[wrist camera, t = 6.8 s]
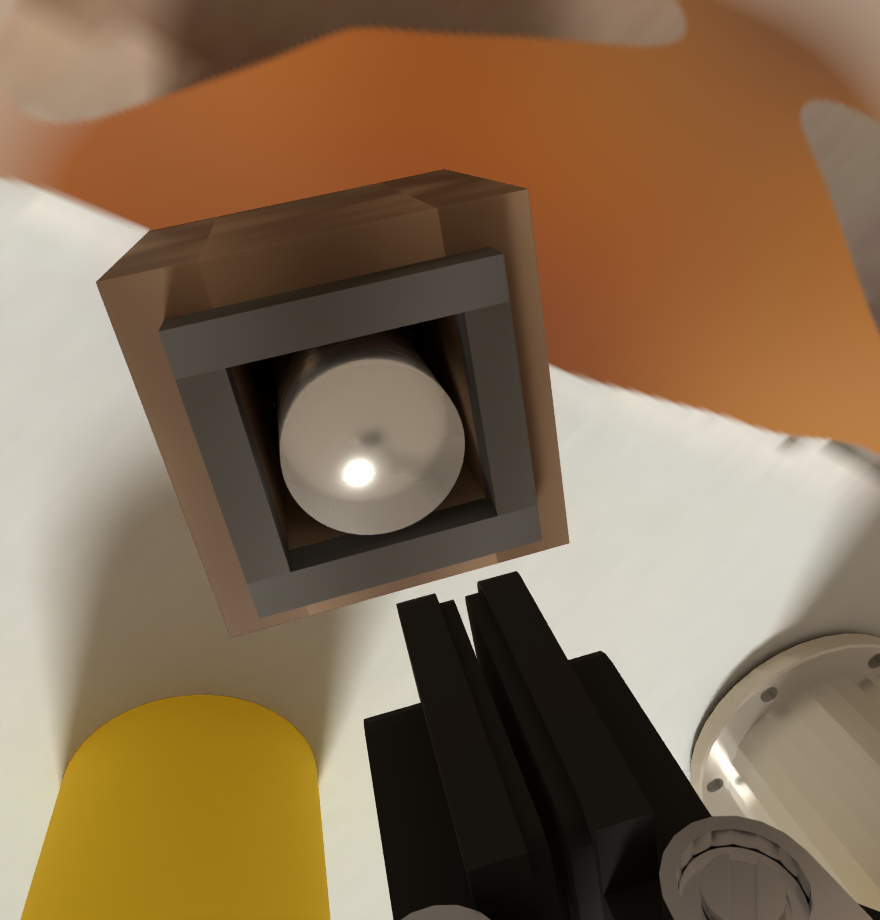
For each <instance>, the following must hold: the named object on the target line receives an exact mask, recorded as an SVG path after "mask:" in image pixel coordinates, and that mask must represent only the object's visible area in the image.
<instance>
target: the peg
mask: <svg viewBox="0 0 880 920" xmlns="http://www.w3.org/2000/svg"><path fill="white" fill-rule="evenodd" d="M274 368H275V384H276V399H277V415H278V431H279V446H280V461H281V468H282V473H283V477H284V480H285V482H286V485H287V487H288V489H289V491H290V493H291V495H292V496H293V498H294V499H295V500H296V502H297V503H298V504H299V506H300V507H301V508H302V509H303V510H304V511H305V512H306V513H307V514H309V515H310V516H311V517H313V518H314V519H315V520H317V521H319V522H320V523H322V524H324V525H326V526H328V527H331V528H333V529H336V530H339V531H342V532H346V533H352V534H359V535H374V534H383V533H388V532H393V531H396V530H399V529H402V528H405V527H407V526H409V525H412V524H414V523H416V522H417V521H419V520H421V519H422V518H424V517H425V516H427V515H428V514H429V513H431V512H432V511H433V510H434V509H435V508H436V507H437V506H438V505H439V504H440V503H441V502H442V501H443V500H444V499H445V497H446V496H447V495H448V494H449V492H450V491H451V489H452V487H453V486H454V484H455V482H456V480H457V478H458V476H459V473H460V470H461V467H462V464H463V458H464V451H465V439H464V430H463V426H462V422H461V419H460V416H459V414H458V412H457V409H456V408H455V406H454V404H453V403H452V401H451V399H450V398H449V397H448V395H447V394H446V392H445V391H444V389H443V388H442V387H441V385H440V384H439V382H438V381H437V379H436V378H435V377H434V375H433V374H432V372H431V371H430V369H429V368H428V367H427V365H426V364H425V362H424V361H423V359H422V358H421V357H420V355H419V354H418V352H417V351H416V349H415V348H414V347H413V345H412V344H411V342H410V341H409V339H408V338H407V337H406V335H405V334H404V332H403V331H402V329H401V328H400V327H399V328H395V329H390V330H386V331H382V332H378V333H373V334H369V335H365V336H361V337H356V338H352V339H348V340H343V341H339V342H335V343H331V344H326V345H322V346H318V347H314V348H309V349H305V350H301V351H297V352H292V353H288V354H284V355H280V356H275V357H274Z"/></svg>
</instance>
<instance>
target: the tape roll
mask: <svg viewBox="0 0 880 920" xmlns="http://www.w3.org/2000/svg"><path fill="white" fill-rule="evenodd" d="M21 920H330V910H329V899H328V888H327V877H326V866H325V854H324V843H323V832H322V821H321V810H320V799H319V788H318V776H317V767H316V762H315V758H314V755H313V753H312V750H311V748H310V746H309V744H308V743H307V741H306V740H305V738H304V737H303V736H302V734H301V733H300V732H299V731H298V730H297V729H296V728H295V727H294V726H293V725H292V724H291V723H290V722H288V721H287V720H286V719H285V718H283V717H282V716H280V715H279V714H277V713H275V712H273V711H272V710H270V709H267V708H265V707H263V706H261V705H258V704H255V703H252V702H249V701H246V700H242V699H238V698H233V697H227V696H218V695H186V696H178V697H171V698H166V699H161V700H157V701H154V702H150V703H147V704H144V705H141V706H138V707H136V708H133V709H131V710H129V711H127V712H124V713H123V714H121V715H119V716H117V717H115V718H113V719H112V720H110V721H109V722H107V723H106V724H104V725H103V726H101V727H100V728H99V729H97V730H96V731H95V732H94V733H93V734H92V735H90V736H89V737H88V738H87V739H86V740H85V741H84V742H83V744H82V745H81V746H80V747H79V748H78V750H77V751H76V752H75V754H74V755H73V757H72V759H71V760H70V762H69V764H68V766H67V768H66V771H65V774H64V777H63V780H62V783H61V787H60V790H59V793H58V797H57V800H56V803H55V807H54V810H53V813H52V816H51V820H50V823H49V826H48V830H47V833H46V836H45V840H44V843H43V846H42V850H41V853H40V856H39V860H38V863H37V866H36V870H35V873H34V876H33V880H32V883H31V886H30V890H29V893H28V896H27V900H26V903H25V906H24V910H23V913H22V916H21Z"/></svg>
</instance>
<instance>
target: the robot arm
mask: <svg viewBox="0 0 880 920" xmlns="http://www.w3.org/2000/svg"><path fill="white" fill-rule="evenodd" d="M477 586H478V593H476V594H472V595H468V596H466V597H465V600H466V606H467V611H468V616H469V621H470V626H471V631H472V636H473V641H474V646H475V651H476V655H475V653H474V650H473V648H472V645H471V642H470V640H469V637H468V635H467V632H466V630H465V627H464V625H463V622H462V619H461V617H460V614H459V612H458V609H457V607H456V604H455V602H454V600H450V601H447V602H443V603H439V602H438V599H437V596H436V594H435V593H434V594H431V595H427V596H423V597H420V598H416V599H412V600H409V601H405V602H401V603H398V604H396V605H397V609H398V613H399V618H400V622H401V626H402V630H403V634H404V638H405V642H406V646H407V650H408V654H409V658H410V662H411V666H412V670H413V674H414V678H415V682H416V686H417V690H418V694H419V698H420V702H421V703H418V704H415V705H411V706H408V707H404V708H401V709H398V710H394V711H391V712H387V713H384V714H380V715H377V716H373V717H370V718H366V719H364V729H365V737H366V743H367V750H368V756H369V763H370V769H371V776H372V782H373V789H374V795H375V802H376V808H377V815H378V822H379V828H380V835H381V841H382V848H383V854H384V861H385V867H386V874H387V880H388V887H389V893H390V900H391V907H392V913H393V920H880V638H879V637H875V636H871V635H868V634H849V633H845V634H838V635H831V636H824V637H820V638H817V639H814V640H810V641H807V642H804V643H801V644H798V645H796V646H794V647H792V648H790V649H787V650H785V651H783V652H781V653H779V654H777V655H775V656H774V657H772V658H770V659H769V660H767V661H766V662H764V663H763V664H761V665H759V666H758V667H756V668H755V669H754V670H752V671H751V672H750V673H749V674H748V675H746V676H745V677H744V678H743V679H742V680H740V681H739V682H738V683H737V684H736V685H735V686H734V687H733V688H732V689H731V690H730V691H729V692H728V693H727V694H726V696H725V697H724V698H723V699H722V700H721V701H720V702H719V703H718V705H717V706H716V708H715V709H714V711H713V712H712V713H711V715H710V716H709V718H708V719H707V721H706V722H705V724H704V727H703V729H702V731H701V733H700V735H699V737H698V739H697V742H696V744H695V748H694V752H693V756H692V760H691V775H690V780H691V783H690V782H689V780H688V779H687V777H686V776H685V774H684V773H683V771H682V770H681V768H680V766H679V765H678V763H677V762H676V760H675V759H674V757H673V756H672V754H671V753H670V751H669V749H668V748H667V746H666V745H665V743H664V742H663V740H662V739H661V737H660V736H659V734H658V732H657V731H656V729H655V728H654V726H653V725H652V723H651V722H650V720H649V719H648V717H647V715H646V714H645V712H644V711H643V709H642V708H641V706H640V705H639V703H638V702H637V700H636V698H635V697H634V695H633V694H632V692H631V691H630V689H629V688H628V686H627V685H626V683H625V681H624V680H623V678H622V677H621V675H620V674H619V672H618V671H617V669H616V668H615V666H614V664H613V663H612V661H611V660H610V659H609V658H608V656H607V655H606V654H605V653H603V652H602V651H598V652H595V653H591V654H588V655H584V656H581V657H578V658H574V659H571V660H568V659H567V658H566V656H565V654H564V652H563V650H562V649H561V647H560V645H559V643H558V642H557V640H556V638H555V636H554V635H553V633H552V631H551V629H550V627H549V626H548V624H547V622H546V620H545V619H544V617H543V615H542V613H541V612H540V610H539V608H538V606H537V604H536V603H535V601H534V599H533V597H532V596H531V594H530V592H529V590H528V589H527V587H526V585H525V583H524V581H523V580H522V578H521V576H520V575H519V573H518V572H516V571H515V572H511V573H508V574H504V575H500V576H497V577H493V578H489V579H486V580H482V581H478V583H477ZM476 656H477V658H476Z"/></svg>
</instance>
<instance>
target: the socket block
mask: <svg viewBox="0 0 880 920" xmlns="http://www.w3.org/2000/svg"><path fill="white" fill-rule="evenodd" d="M96 284H97V287H98V289H99V292H100V295H101V297H102V300H103V302H104V305H105V308H106V310H107V313H108V316H109V318H110V321H111V323H112V326H113V329H114V331H115V334H116V337H117V339H118V342H119V345H120V347H121V350H122V352H123V355H124V358H125V360H126V363H127V366H128V368H129V371H130V374H131V376H132V379H133V381H134V384H135V387H136V389H137V392H138V395H139V397H140V400H141V402H142V405H143V408H144V410H145V413H146V416H147V418H148V421H149V424H150V426H151V429H152V431H153V434H154V437H155V439H156V442H157V445H158V447H159V450H160V452H161V455H162V458H163V460H164V463H165V466H166V468H167V471H168V474H169V476H170V479H171V481H172V484H173V487H174V489H175V492H176V495H177V497H178V500H179V503H180V505H181V508H182V510H183V513H184V516H185V518H186V521H187V524H188V526H189V529H190V531H191V534H192V537H193V539H194V542H195V545H196V547H197V550H198V553H199V555H200V558H201V560H202V563H203V566H204V568H205V571H206V574H207V576H208V579H209V581H210V584H211V587H212V589H213V592H214V595H215V597H216V600H217V603H218V605H219V608H220V610H221V613H222V616H223V618H224V621H225V624H226V626H227V629H228V632H229V634H230V637H231V638H232V637H235V636H239V635H242V634H246V633H250V632H253V631H257V630H260V629H264V628H267V627H271V626H275V625H278V624H282V623H285V622H289V621H293V620H296V619H300V618H303V617H307V616H310V615H314V614H318V613H321V612H325V611H328V610H332V609H336V608H339V607H343V606H346V605H350V604H353V603H357V602H361V601H364V600H368V599H371V598H375V597H378V596H382V595H386V594H389V593H393V592H396V591H400V590H404V589H407V588H411V587H414V586H418V585H421V584H425V583H429V582H432V581H436V580H439V579H443V578H447V577H450V576H454V575H457V574H461V573H464V572H468V571H472V570H475V569H479V568H482V567H486V566H490V565H493V564H497V563H500V562H504V561H507V560H511V559H515V558H518V557H522V556H525V555H529V554H533V553H536V552H540V551H543V550H547V549H550V548H554V547H558V546H561V545H565V544H568V543H569V536H568V527H567V519H566V510H565V501H564V493H563V484H562V476H561V467H560V458H559V450H558V441H557V433H556V424H555V415H554V407H553V398H552V390H551V381H550V372H549V364H548V356H547V347H546V339H545V330H544V321H543V313H542V304H541V295H540V287H539V278H538V270H537V261H536V253H535V244H534V235H533V226H532V218H531V209H530V201H529V193H528V189H526V188H522V187H518V186H514V185H509V184H504V183H500V182H496V181H492V180H488V179H484V178H479V177H475V176H470V175H467V174H462V173H458V172H454V171H449V170H445V169H444V170H439V171H434V172H429V173H425V174H420V175H415V176H410V177H405V178H401V179H396V180H391V181H386V182H382V183H377V184H372V185H367V186H363V187H358V188H353V189H348V190H343V191H339V192H334V193H329V194H324V195H320V196H315V197H310V198H305V199H300V200H296V201H291V202H286V203H282V204H277V205H272V206H267V207H262V208H257V209H253V210H248V211H243V212H238V213H234V214H229V215H224V216H220V217H215V218H210V219H205V220H201V221H195V222H191V223H186V224H181V225H177V226H172V227H167V228H162V229H157V230H152V231H149V232H148V233H147V234H146V235H145V236H144V237H143V238H141V239H140V240H139V241H138V242H137V243H136V244H135V245H134V246H133V247H132V248H131V249H130V250H129V251H128V252H127V253H126V254H125V255H124V256H123V257H122V258H121V259H120V260H119V261H117V262H116V263H115V264H114V265H113V266H112V267H111V268H110V269H109V270H108V271H107V272H106V273H105V274H104V275H103V276H102V277H101V278H100V279H99V280H98V281H97V282H96ZM407 325H410V330H411V335H412V340H413V345H414V348H415V349H416V351H417V352H418V354H419V355H420V357H421V358H422V359H423V361H424V362H425V364H426V365H427V367H428V368H429V369H430V371H431V372H432V374H433V375H434V377H435V378H436V379H437V381H438V382H439V384H440V385H441V387H442V388H443V389H444V391H445V392H446V394H447V395H448V397H449V398H450V399H451V401H452V403H453V404H454V406H455V408H456V409H457V412H458V414H459V416H460V419H461V422H462V426H463V430H464V439H465V451H464V458H463V464H462V467H461V470H460V473H459V476H458V478H457V480H456V482H455V484H454V486H453V487H452V489H451V491H450V492H449V494H448V495H447V496H446V497H445V499H444V500H443V501H442V502H441V503H440V504H439V505H438V506H437V507H436V508H435V509H434V510H433V511H432V512H431V513H429V514H428V515H427V516H425V517H424V518H422V519H421V520H419V521H417V522H416V523H414V524H412V525H409V526H407V527H405V528H402V529H399V530H396V531H393V532H388V533H383V534H374V535H359V534H352V533H346V532H342V531H339V530H336V529H333V528H331V527H328V526H326V525H324V524H322V523H320V522H319V521H317V520H315V519H314V518H313V517H311V516H310V515H309V514H307V513H306V512H305V511H304V510H303V509H302V508H301V507H300V506H299V504H298V503H297V502H296V500H295V499H294V498H293V496H292V495H291V493H290V491H289V489H288V487H287V485H286V482H285V480H284V477H283V473H282V468H281V461H280V446H279V431H278V420H277V417H276V414H275V410H274V407H273V403H272V400H271V397H270V393H269V390H268V387H267V383H266V380H265V376H264V373H263V370H262V366H261V363H260V360H263V359H267V358H271V357H275V356H280V355H284V354H288V353H292V352H297V351H301V350H305V349H309V348H314V347H318V346H322V345H326V344H331V343H335V342H339V341H343V340H348V339H352V338H356V337H361V336H365V335H369V334H373V333H378V332H382V331H386V330H390V329H395V328H399V327H403V326H407Z"/></svg>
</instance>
